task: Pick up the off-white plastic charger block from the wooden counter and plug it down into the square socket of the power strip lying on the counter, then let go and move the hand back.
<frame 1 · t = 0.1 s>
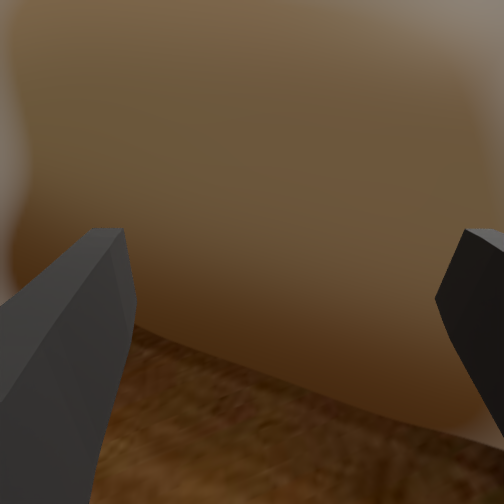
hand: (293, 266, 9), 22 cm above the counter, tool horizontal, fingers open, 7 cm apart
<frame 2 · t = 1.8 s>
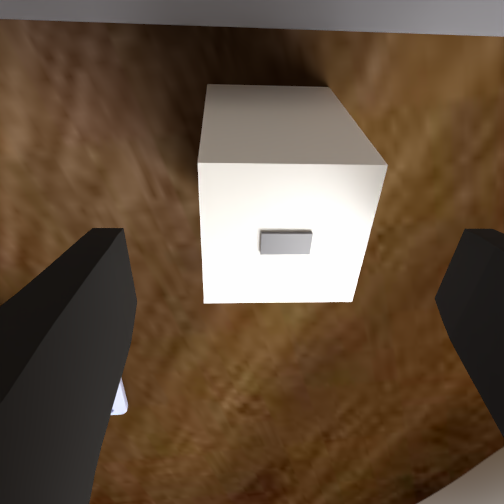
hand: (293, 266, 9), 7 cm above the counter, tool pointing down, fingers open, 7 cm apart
charger: (265, 144, 14), on the counter
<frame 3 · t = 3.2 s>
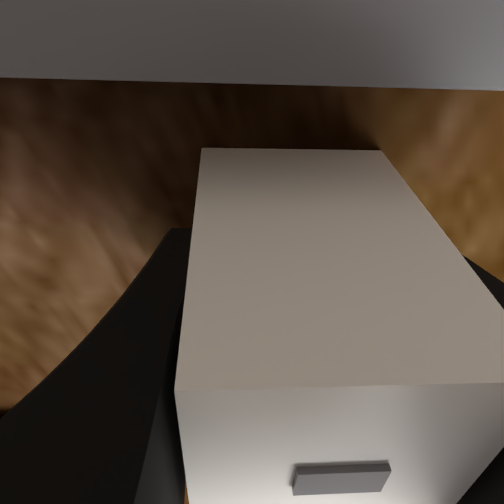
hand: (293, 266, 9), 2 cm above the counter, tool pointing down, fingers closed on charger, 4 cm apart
charger: (284, 224, 10), on the counter, touching gripper
when the fingers open (3 cm above the counter, at t = 6.8 s): charger drops 1 cm, resting in power strip.
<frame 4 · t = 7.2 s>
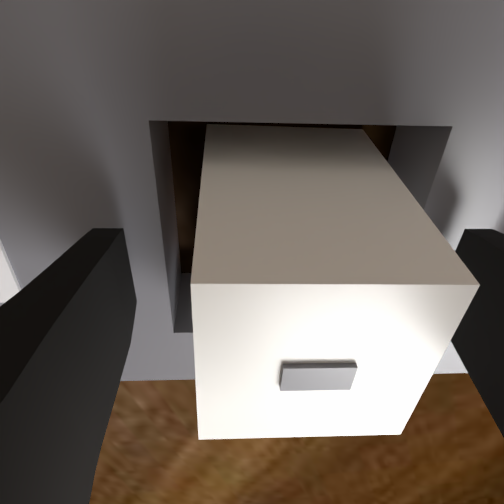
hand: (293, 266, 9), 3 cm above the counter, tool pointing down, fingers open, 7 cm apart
charger: (278, 195, 11), resting in power strip
power strip: (206, 193, 11), on the counter
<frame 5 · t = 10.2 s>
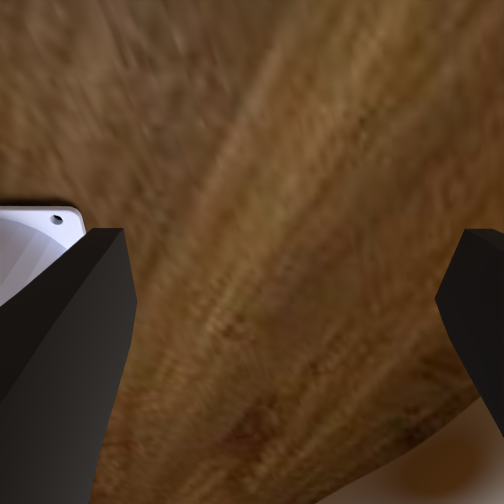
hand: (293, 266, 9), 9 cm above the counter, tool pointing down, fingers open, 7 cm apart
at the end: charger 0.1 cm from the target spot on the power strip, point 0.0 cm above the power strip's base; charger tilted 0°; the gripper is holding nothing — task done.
